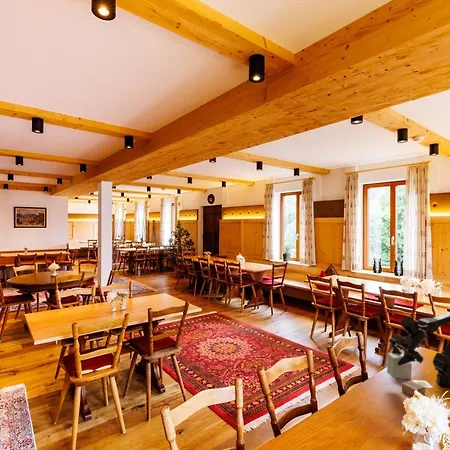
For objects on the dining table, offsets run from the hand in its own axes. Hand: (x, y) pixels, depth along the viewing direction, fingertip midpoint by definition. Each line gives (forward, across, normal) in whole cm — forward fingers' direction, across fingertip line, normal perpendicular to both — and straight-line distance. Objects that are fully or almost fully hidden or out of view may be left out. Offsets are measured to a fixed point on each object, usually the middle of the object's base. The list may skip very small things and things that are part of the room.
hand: (394, 362), depth 158 cm
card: (-3, -2, +22) cm, 23 cm away
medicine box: (+1, -11, +19) cm, 22 cm away
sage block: (+4, 0, +5) cm, 7 cm away
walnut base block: (+5, +4, +15) cm, 16 cm away
